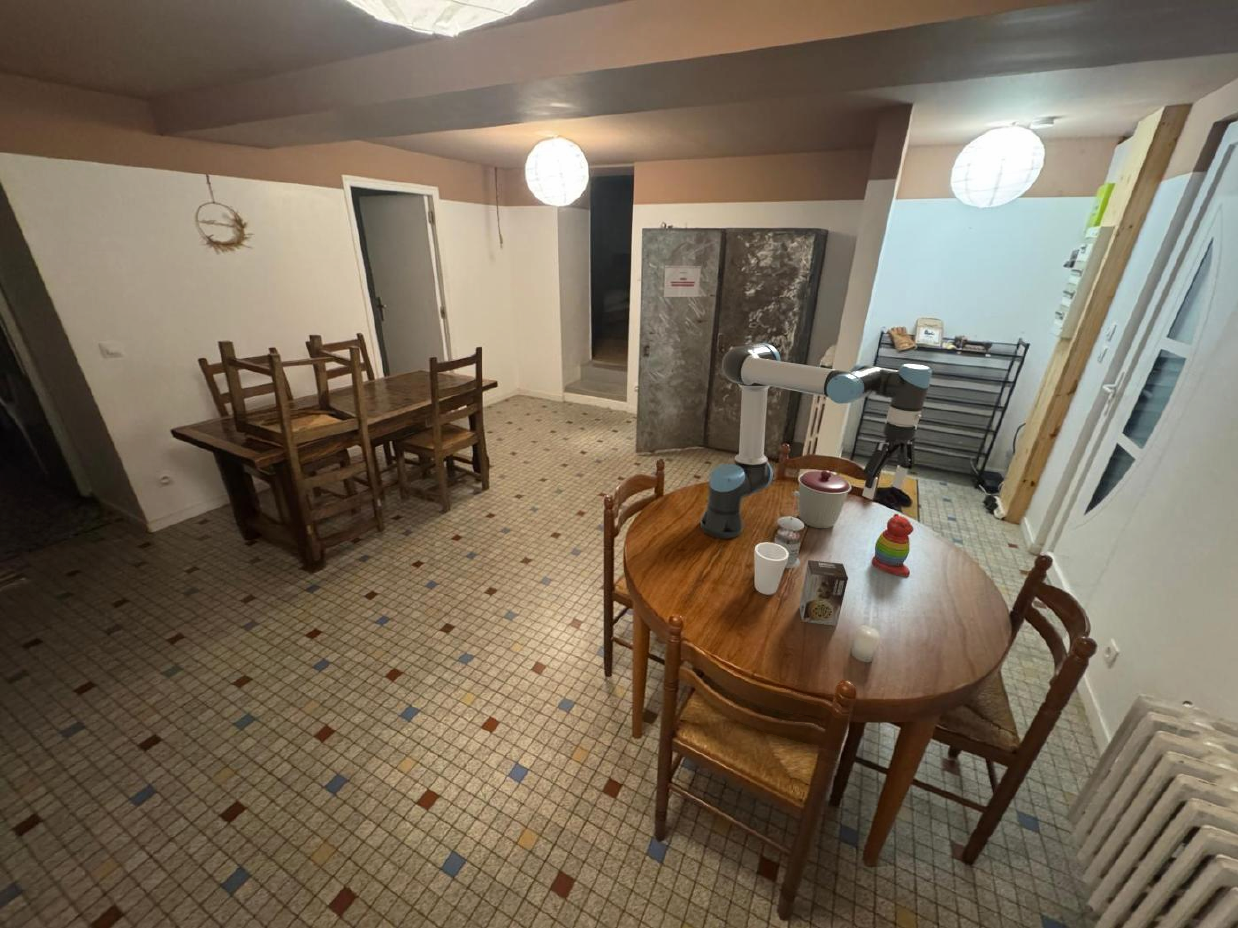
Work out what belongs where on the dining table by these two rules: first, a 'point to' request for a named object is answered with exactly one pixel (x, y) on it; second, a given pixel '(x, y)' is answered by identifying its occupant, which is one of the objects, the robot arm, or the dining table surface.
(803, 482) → the canister
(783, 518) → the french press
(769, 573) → the foam cup
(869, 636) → the white cylinder
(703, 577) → the dining table surface
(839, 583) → the coffee box
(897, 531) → the stacking bear
